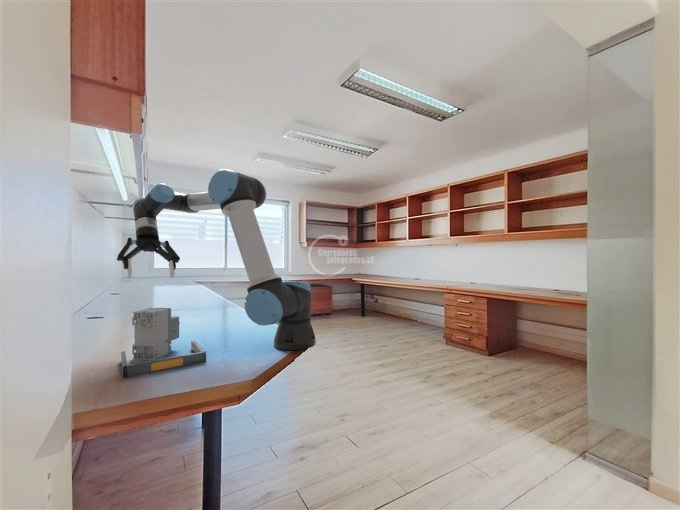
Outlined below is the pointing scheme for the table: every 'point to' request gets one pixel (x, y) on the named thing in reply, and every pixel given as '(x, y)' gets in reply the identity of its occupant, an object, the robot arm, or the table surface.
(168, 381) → the table surface
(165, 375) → the table surface
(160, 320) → the circuit breaker
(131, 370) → the lockout stall
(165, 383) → the table surface
